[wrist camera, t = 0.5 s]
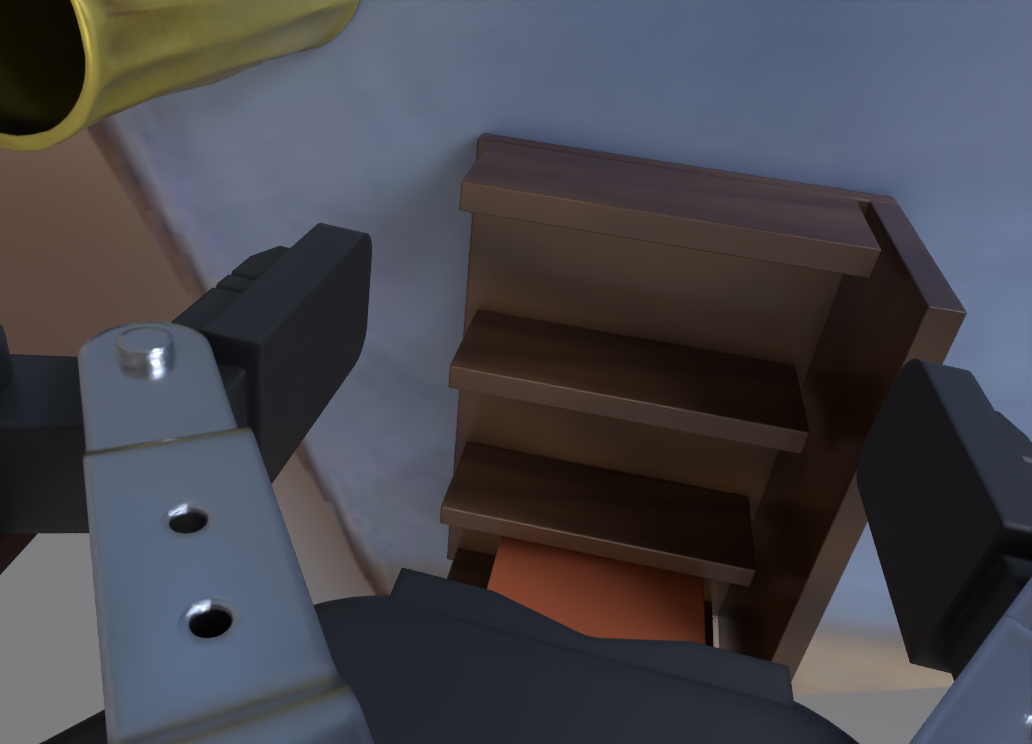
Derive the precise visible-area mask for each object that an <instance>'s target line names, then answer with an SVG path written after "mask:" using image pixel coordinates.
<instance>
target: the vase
mask: <svg viewBox="0 0 1032 744" xmlns="http://www.w3.org/2000/svg"><path fill="white" fill-rule="evenodd" d="M359 1H360V0H0V147H1V148H5V149H10V150H14V151H41V150H45V149H47V148H49V147H52V146H54V145H56V144H59V143H61V142H63V141H64V140H66V139H68V138H70V137H72V136H74V135H75V134H77V133H78V132H80V131H81V130H83V129H85V128H86V127H88V126H90V125H92V124H94V123H96V122H98V121H101V120H103V119H105V118H107V117H109V116H112V115H114V114H117V113H119V112H122V111H124V110H126V109H129V108H131V107H133V106H136V105H138V104H140V103H143V102H145V101H148V100H150V99H153V98H156V97H160V96H164V95H168V94H172V93H176V92H180V91H185V90H189V89H193V88H197V87H201V86H206V85H210V84H213V83H216V82H219V81H221V80H223V79H226V78H228V77H231V76H233V75H235V74H237V73H240V72H242V71H244V70H246V69H248V68H251V67H254V66H256V65H258V64H260V63H262V62H264V61H266V60H268V59H273V58H277V57H281V56H284V55H288V54H291V53H294V52H298V51H305V50H309V49H313V48H316V47H319V46H322V45H324V44H326V43H327V42H329V41H331V40H332V39H334V38H335V37H336V36H337V35H338V34H339V33H340V32H341V31H342V30H343V29H344V28H345V27H346V25H347V24H348V22H349V21H350V20H351V18H352V16H353V15H354V13H355V11H356V9H357V6H358V4H359Z"/></svg>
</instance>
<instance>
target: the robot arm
mask: <svg viewBox="0 0 1032 744" xmlns="http://www.w3.org/2000/svg"><path fill="white" fill-rule="evenodd" d="M371 258H372V242H371V238H370V235H369V234H367V233H363V232H359V231H354V230H350V229H345V228H341V227H337V226H332V225H328V224H323V223H319V224H317V225H316V226H315V227H314V228H312V229H311V230H310V231H309V232H308V233H307V234H306V235H305V236H304V237H302V238H301V239H300V240H299V241H298V242H297V243H296V244H295V245H293V246H292V247H291V248H286V247H282V246H278V247H275V248H272V249H270V250H267V251H264V252H261V253H258V254H255V255H253V256H250V257H249V258H248V259H247V260H245V261H244V262H243V263H242V264H241V265H239V266H238V267H237V268H236V269H234V270H233V271H232V274H231V275H227V276H226V277H225V278H224V279H222V280H221V281H220V282H219V283H218V284H217V286H216V288H212V289H210V290H209V291H208V292H207V293H206V294H204V295H203V296H202V297H201V298H200V299H198V300H197V301H196V302H195V303H194V304H192V305H191V306H190V307H189V308H188V309H187V310H185V311H184V312H183V313H182V314H180V315H179V316H178V317H177V318H176V319H175V320H173V321H172V322H171V323H167V322H136V323H129V324H124V325H119V326H116V327H113V328H110V329H107V330H105V331H102V332H100V333H98V334H96V335H95V336H93V337H91V338H90V339H89V340H88V341H86V342H85V344H84V345H83V346H82V347H81V349H80V351H79V353H78V357H66V356H64V357H63V356H40V355H17V354H9V349H8V345H7V340H6V336H5V331H4V329H3V327H2V325H1V324H0V575H1V573H2V572H3V571H4V570H5V569H6V568H7V567H8V565H10V564H11V562H12V561H13V560H14V559H15V558H16V557H17V556H18V555H19V554H20V553H21V551H22V550H23V549H24V548H25V547H26V546H27V545H28V544H29V543H30V542H31V540H32V539H33V538H34V537H35V536H36V535H37V533H89V534H90V546H91V556H92V567H93V579H94V590H95V603H96V614H97V625H98V637H99V648H100V659H101V671H102V682H103V692H104V704H105V709H104V710H103V711H101V712H99V713H97V714H95V715H93V716H91V717H89V718H87V719H86V720H84V721H82V722H80V723H78V724H76V725H74V726H72V727H71V728H69V729H67V730H65V731H63V732H61V733H59V734H57V735H55V736H53V737H52V738H50V739H48V740H46V741H44V742H42V743H40V744H859V743H858V742H856V741H855V740H854V739H853V738H852V737H850V736H849V735H848V734H847V733H845V732H844V731H842V730H841V729H839V728H838V727H837V726H835V725H834V724H833V723H831V722H830V721H828V720H827V719H825V718H823V717H822V716H820V715H819V714H817V713H815V712H814V711H812V710H810V709H809V708H807V707H805V706H803V705H801V704H799V703H797V702H795V701H794V700H793V693H792V685H791V678H790V671H789V666H786V665H782V664H778V663H774V662H770V661H766V660H762V659H759V658H755V657H751V656H747V655H743V654H739V653H735V652H731V651H727V650H723V649H719V648H715V647H712V646H708V645H704V644H700V643H696V642H692V641H670V640H644V639H618V638H598V637H591V636H587V635H584V634H582V633H579V632H577V631H575V630H573V629H571V628H569V627H567V626H565V625H563V624H561V623H559V622H557V621H555V620H553V619H551V618H549V617H547V616H545V615H542V614H540V613H538V612H536V611H534V610H532V609H530V608H528V607H526V606H524V605H522V604H520V603H518V602H516V601H514V600H512V599H510V598H508V597H506V596H504V595H501V594H499V593H497V592H495V591H492V590H488V589H484V588H480V587H477V586H473V585H469V584H465V583H461V582H457V581H453V580H449V579H445V578H441V577H437V576H433V575H430V574H426V573H422V572H418V571H414V570H410V569H406V568H401V571H400V573H399V575H398V578H397V580H396V583H395V585H394V587H393V590H392V592H391V595H390V596H377V595H375V596H360V597H350V598H344V599H338V600H332V601H327V602H323V603H320V604H316V605H313V603H312V600H311V597H310V594H309V591H308V588H307V585H306V583H305V580H304V577H303V574H302V571H301V568H300V565H299V563H298V560H297V557H296V554H295V551H294V548H293V545H292V542H291V540H290V537H289V534H288V531H287V528H286V525H285V523H284V519H283V517H282V514H281V511H280V508H279V505H278V502H277V499H276V496H275V494H274V491H273V488H272V485H271V484H272V483H273V481H274V480H275V479H276V477H277V476H278V474H279V473H280V471H281V470H282V469H283V467H284V465H285V464H286V463H287V461H288V460H289V459H290V457H291V456H292V454H293V453H294V451H295V450H296V449H297V447H298V446H299V444H300V443H301V441H302V440H303V439H304V437H305V436H306V434H307V433H308V431H309V430H310V428H311V427H312V426H313V424H314V423H315V421H316V420H317V418H318V417H319V416H320V414H321V413H322V411H323V410H324V408H325V407H326V406H327V404H328V403H329V401H330V400H331V398H332V397H333V396H334V394H335V393H336V391H337V390H338V388H339V387H340V386H341V384H342V383H343V381H344V380H345V378H346V377H347V376H348V374H349V373H350V371H351V370H352V368H353V367H354V366H355V364H356V362H357V360H358V358H359V356H360V353H361V351H362V348H363V344H364V340H365V335H366V330H367V318H368V303H369V288H370V273H371ZM856 478H857V485H858V489H859V493H860V496H861V499H862V503H863V506H864V509H865V513H866V516H867V519H868V523H869V526H870V530H871V533H872V536H873V540H874V543H875V546H876V550H877V553H878V557H879V560H880V563H881V567H882V570H883V573H884V577H885V580H886V583H887V587H888V590H889V594H890V597H891V600H892V604H893V607H894V610H895V614H896V617H897V621H898V624H899V627H900V631H901V634H902V637H903V641H904V644H905V647H906V651H907V654H908V658H909V661H910V663H912V664H916V665H920V666H924V667H928V668H932V669H936V670H940V671H944V672H948V673H952V676H953V679H954V683H953V684H952V686H951V687H950V688H949V690H948V691H947V693H946V694H945V695H944V697H943V698H942V699H941V701H940V702H939V703H938V705H937V706H936V707H935V709H934V710H933V711H932V713H931V714H930V716H929V717H928V718H927V720H926V721H925V722H924V724H923V725H922V727H921V728H920V729H919V730H918V732H917V733H916V735H915V736H914V737H913V739H912V740H911V741H910V743H909V744H1032V443H1031V441H1030V440H1029V438H1028V437H1027V436H1026V435H1025V434H1024V433H1023V432H1021V431H1020V430H1019V429H1018V428H1017V427H1016V426H1015V425H1013V424H1012V423H1011V422H1010V421H1009V420H1008V419H1006V418H1005V417H1004V416H1003V415H1002V414H1001V413H1000V412H997V411H995V410H994V409H993V407H992V405H991V404H990V402H989V400H988V399H987V397H986V396H985V394H984V392H983V391H982V389H981V387H980V386H979V384H978V382H977V381H976V379H975V377H974V376H973V374H972V373H971V372H970V371H968V370H964V369H959V368H955V367H950V366H946V365H941V364H937V363H933V362H928V361H924V360H919V359H911V360H909V361H908V362H907V363H906V364H905V365H904V366H903V368H902V369H901V370H900V372H899V374H898V376H897V378H896V380H895V382H894V384H893V386H892V388H891V390H890V392H889V394H888V396H887V398H886V400H885V402H884V404H883V406H882V408H881V410H880V412H879V414H878V415H877V417H876V419H875V421H874V423H873V425H872V427H871V429H870V431H869V433H868V435H867V437H866V439H865V441H864V443H863V446H862V448H861V451H860V455H859V459H858V464H857V473H856Z"/></svg>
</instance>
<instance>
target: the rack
mask: <svg viewBox="0 0 1032 744" xmlns="http://www.w3.org/2000/svg"><path fill="white" fill-rule="evenodd" d="M460 210H461V211H467V212H472V224H471V238H470V251H469V265H468V279H467V293H466V306H465V320H464V334H463V340H462V342H461V344H460V346H459V348H458V350H457V352H456V354H455V356H454V358H453V360H452V363H451V365H450V371H449V387H450V388H455V389H459V402H458V416H457V429H456V443H455V457H454V470H453V477H452V479H451V482H450V485H449V487H448V490H447V492H446V495H445V498H444V500H443V503H442V505H441V514H440V522H441V523H442V524H447V525H449V539H448V553H447V558H448V559H449V560H453V563H452V565H451V568H450V571H449V574H448V577H447V579H449V580H453V581H457V582H461V583H465V584H469V585H473V586H477V587H480V588H484V589H487V586H488V582H489V579H490V575H491V572H492V568H493V564H494V561H495V557H496V554H497V550H498V546H499V543H500V539H501V536H505V537H510V538H515V539H520V540H524V541H529V542H534V543H539V544H544V545H549V546H553V547H558V548H563V549H568V550H573V551H578V552H582V553H587V554H592V555H597V556H602V557H607V558H611V559H616V560H621V561H626V562H631V563H636V564H640V565H645V566H650V567H655V568H660V569H665V570H669V571H674V572H679V573H684V574H689V575H694V576H698V577H703V578H704V610H705V645H708V646H712V647H713V617H712V615H714V616H718V629H719V649H723V650H727V651H731V652H735V653H739V654H743V655H747V656H751V657H755V658H759V659H762V660H766V661H770V662H774V663H778V664H782V665H786V666H789V671H790V678H791V681H792V679H793V677H794V675H795V673H796V671H797V669H798V667H799V664H800V662H801V660H802V658H803V656H804V654H805V652H806V650H807V648H808V646H809V643H810V641H811V639H812V637H813V635H814V633H815V631H816V629H817V627H818V625H819V622H820V620H821V618H822V616H823V614H824V612H825V610H826V608H827V606H828V604H829V601H830V599H831V597H832V595H833V593H834V591H835V589H836V587H837V585H838V583H839V580H840V578H841V576H842V574H843V572H844V570H845V568H846V566H847V564H848V562H849V559H850V557H851V555H852V553H853V551H854V549H855V547H856V545H857V543H858V541H859V538H860V536H861V534H862V532H863V530H864V528H865V526H866V524H867V522H868V519H867V516H866V513H865V509H864V506H863V503H862V499H861V496H860V493H859V489H858V485H857V478H856V473H857V464H858V459H859V455H860V451H861V448H862V446H863V443H864V441H865V439H866V437H867V435H868V433H869V431H870V429H871V427H872V425H873V423H874V421H875V419H876V417H877V415H878V414H879V412H880V410H881V408H882V406H883V404H884V402H885V400H886V398H887V396H888V394H889V392H890V390H891V388H892V386H893V384H894V382H895V380H896V378H897V376H898V374H899V372H900V370H901V369H902V368H903V366H904V365H905V364H906V363H907V362H908V361H909V360H911V359H919V360H924V361H928V362H933V363H937V364H941V365H942V364H943V362H944V360H945V358H946V356H947V354H948V351H949V349H950V347H951V345H952V343H953V341H954V339H955V337H956V335H957V333H958V330H959V328H960V326H961V324H962V322H963V320H964V318H965V316H966V314H967V312H966V311H965V309H964V307H963V306H962V304H961V303H960V301H959V299H958V298H957V296H956V295H955V293H954V292H953V290H952V288H951V287H950V285H949V284H948V282H947V280H946V279H945V277H944V276H943V274H942V272H941V271H940V269H939V268H938V266H937V265H936V263H935V261H934V260H933V258H932V257H931V255H930V253H929V252H928V250H927V249H926V247H925V246H924V244H923V242H922V241H921V239H920V238H919V236H918V234H917V233H916V231H915V230H914V228H913V226H912V225H911V223H910V222H909V220H908V219H907V217H906V215H905V214H904V212H903V211H902V209H901V207H900V206H899V205H898V204H897V202H896V201H895V199H894V198H893V197H887V196H881V195H874V194H868V193H861V192H855V191H849V190H842V189H836V188H829V187H823V186H817V185H810V184H804V183H797V182H791V181H785V180H778V179H772V178H765V177H759V176H753V175H746V174H740V173H733V172H727V171H721V170H714V169H708V168H701V167H695V166H689V165H682V164H676V163H670V162H663V161H657V160H650V159H644V158H638V157H631V156H625V155H618V154H612V153H606V152H599V151H593V150H586V149H580V148H574V147H567V146H561V145H554V144H548V143H542V142H535V141H529V140H522V139H516V138H510V137H503V136H497V135H490V134H482V135H481V136H480V137H479V139H478V142H477V156H476V162H475V164H474V165H473V167H472V168H471V169H470V171H469V172H468V173H467V175H466V176H465V178H464V179H463V180H462V182H461V196H460Z"/></svg>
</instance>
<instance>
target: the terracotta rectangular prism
mask: <svg viewBox="0 0 1032 744" xmlns="http://www.w3.org/2000/svg"><path fill="white" fill-rule="evenodd" d="M487 589H488V590H492V591H495V592H497V593H499V594H501V595H504V596H506V597H508V598H510V599H512V600H514V601H516V602H518V603H520V604H522V605H524V606H526V607H528V608H530V609H532V610H534V611H536V612H538V613H540V614H542V615H545V616H547V617H549V618H551V619H553V620H555V621H557V622H559V623H561V624H563V625H565V626H567V627H569V628H571V629H573V630H575V631H577V632H579V633H582V634H584V635H587V636H591V637H598V638H618V639H644V640H670V641H692V642H696V643H700V644H704V645H705V610H704V578H703V577H698V576H694V575H689V574H684V573H679V572H674V571H669V570H665V569H660V568H655V567H650V566H645V565H640V564H636V563H631V562H626V561H621V560H616V559H611V558H607V557H602V556H597V555H592V554H587V553H582V552H578V551H573V550H568V549H563V548H558V547H553V546H549V545H544V544H539V543H534V542H529V541H524V540H520V539H515V538H510V537H505V536H501V539H500V543H499V546H498V550H497V554H496V557H495V561H494V564H493V568H492V572H491V575H490V579H489V582H488V586H487Z"/></svg>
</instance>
